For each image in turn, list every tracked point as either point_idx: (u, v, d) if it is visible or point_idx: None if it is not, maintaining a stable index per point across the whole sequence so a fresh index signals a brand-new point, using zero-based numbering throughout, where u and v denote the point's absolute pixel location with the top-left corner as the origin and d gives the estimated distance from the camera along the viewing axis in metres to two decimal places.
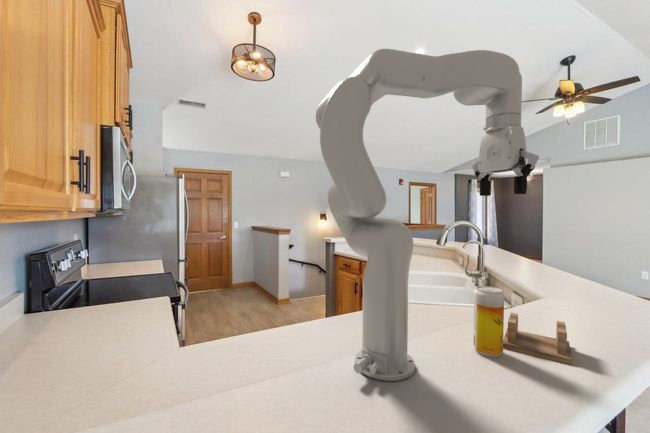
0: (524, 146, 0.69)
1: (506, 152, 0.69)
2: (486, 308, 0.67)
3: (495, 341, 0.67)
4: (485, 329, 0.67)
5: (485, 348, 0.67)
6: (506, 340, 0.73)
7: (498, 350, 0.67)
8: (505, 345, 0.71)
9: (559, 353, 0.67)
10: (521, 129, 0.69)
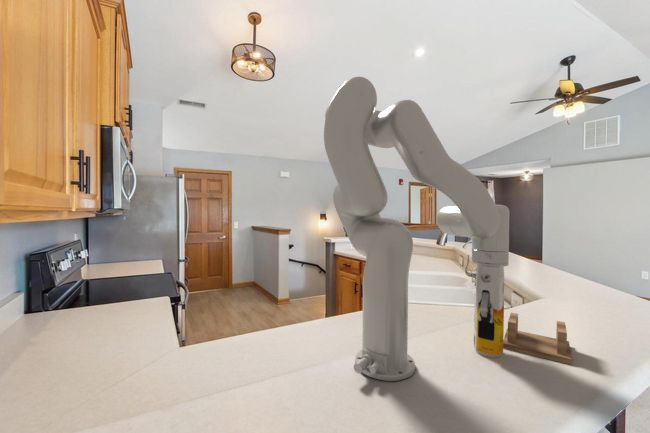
0: None
1: None
2: None
3: (495, 341, 0.67)
4: None
5: (485, 348, 0.67)
6: (506, 340, 0.73)
7: (498, 350, 0.67)
8: (505, 345, 0.71)
9: (559, 353, 0.67)
10: None
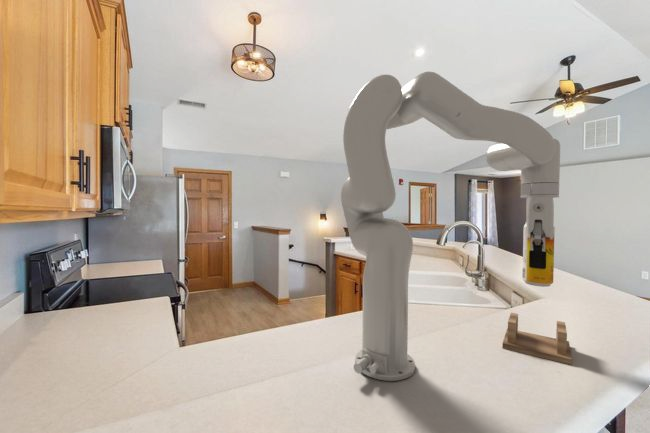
0: None
1: None
2: None
3: (546, 270, 0.69)
4: None
5: (536, 277, 0.70)
6: (506, 340, 0.73)
7: (549, 279, 0.69)
8: (505, 345, 0.71)
9: (559, 353, 0.67)
10: None
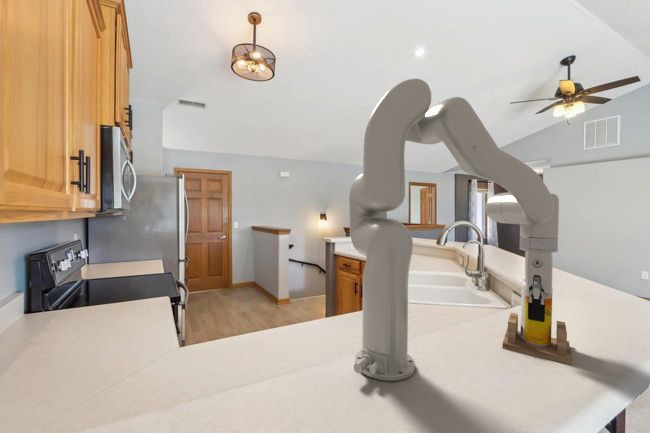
0: None
1: None
2: None
3: (544, 331, 0.69)
4: None
5: (534, 338, 0.70)
6: (506, 340, 0.73)
7: (547, 340, 0.69)
8: (505, 345, 0.71)
9: (559, 353, 0.67)
10: None
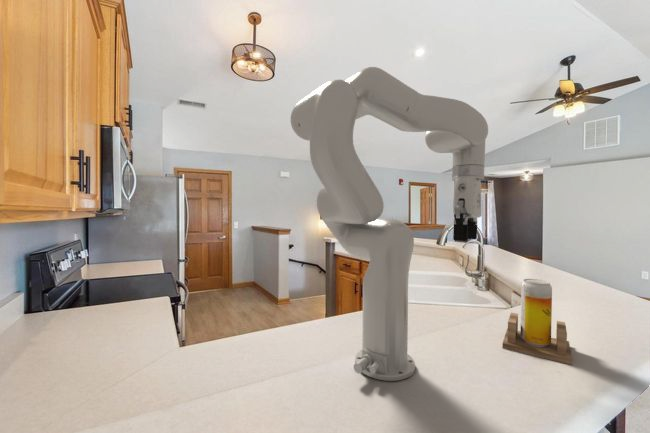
0: None
1: (481, 203, 0.78)
2: (536, 299, 0.70)
3: (544, 331, 0.69)
4: (534, 319, 0.70)
5: (534, 338, 0.70)
6: (506, 340, 0.73)
7: (547, 340, 0.69)
8: (505, 345, 0.71)
9: (559, 353, 0.67)
10: None
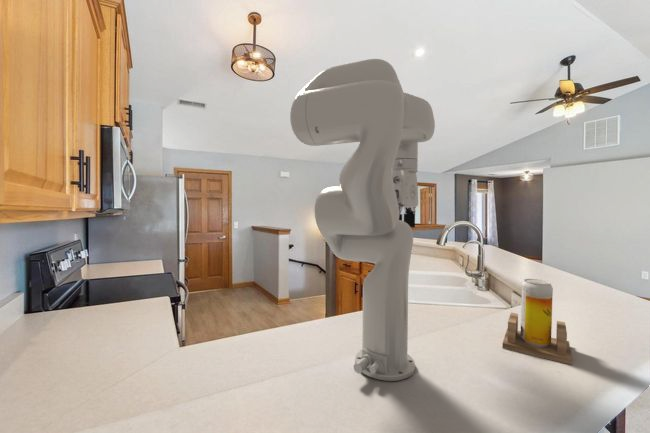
0: None
1: (416, 193, 0.85)
2: (536, 299, 0.69)
3: (544, 331, 0.69)
4: (534, 319, 0.70)
5: (534, 338, 0.70)
6: (506, 340, 0.73)
7: (547, 340, 0.69)
8: (505, 345, 0.71)
9: (559, 353, 0.67)
10: None
